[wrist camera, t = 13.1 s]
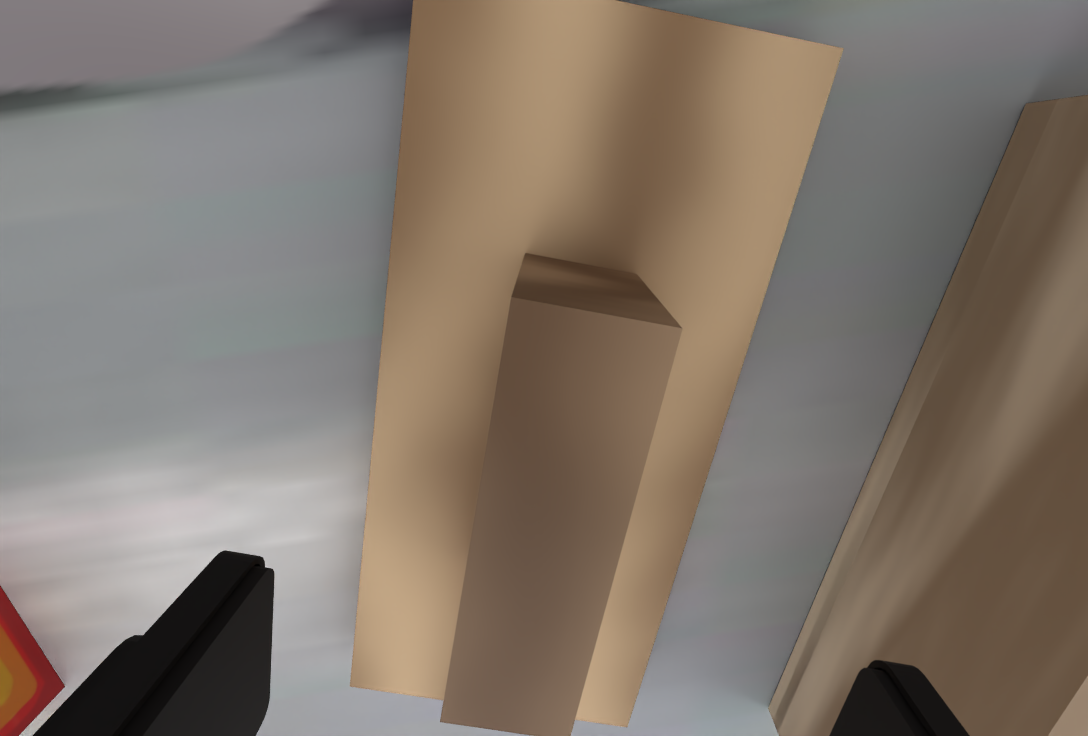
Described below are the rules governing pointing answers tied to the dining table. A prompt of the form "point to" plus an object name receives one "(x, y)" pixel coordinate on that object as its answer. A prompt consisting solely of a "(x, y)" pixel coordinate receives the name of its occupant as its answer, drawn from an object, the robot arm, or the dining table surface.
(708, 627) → the dining table surface
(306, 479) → the dining table surface
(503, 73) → the wooden block with riser
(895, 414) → the open wooden crate
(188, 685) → the robot arm
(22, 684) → the baking soda box
